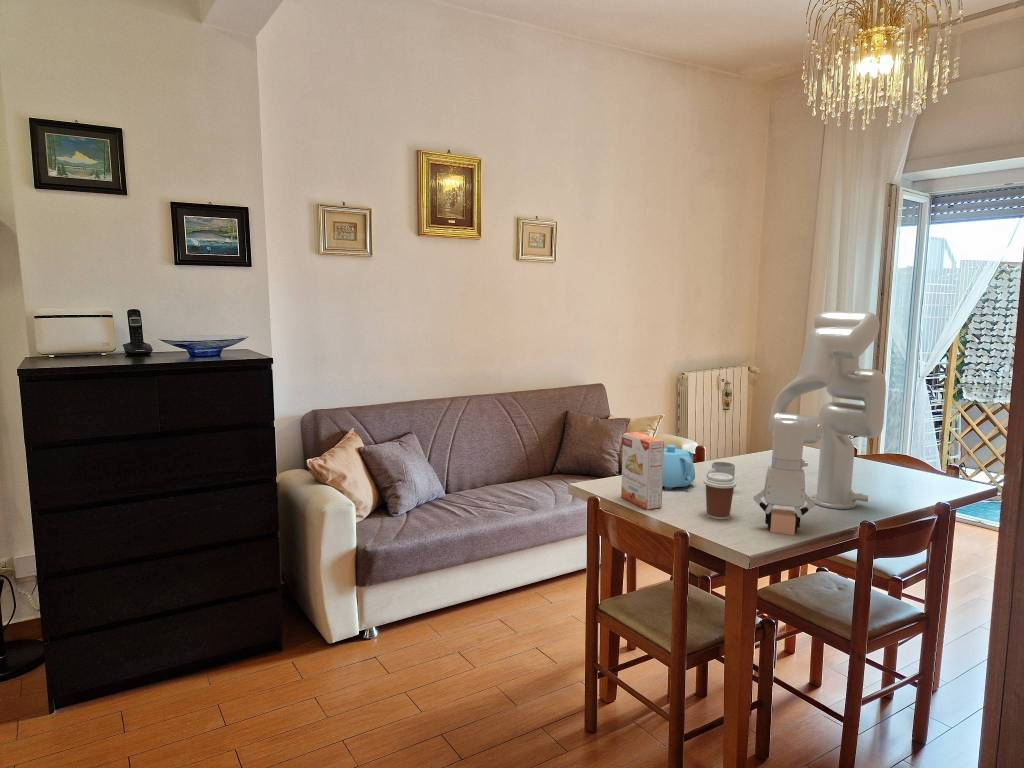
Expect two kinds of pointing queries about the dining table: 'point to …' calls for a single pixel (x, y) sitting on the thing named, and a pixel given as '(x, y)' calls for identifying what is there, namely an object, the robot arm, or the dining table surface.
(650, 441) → the cracker box
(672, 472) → the decorative pot
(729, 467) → the cup
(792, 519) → the stacking block
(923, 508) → the dining table surface
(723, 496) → the coffee cup
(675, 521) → the dining table surface
